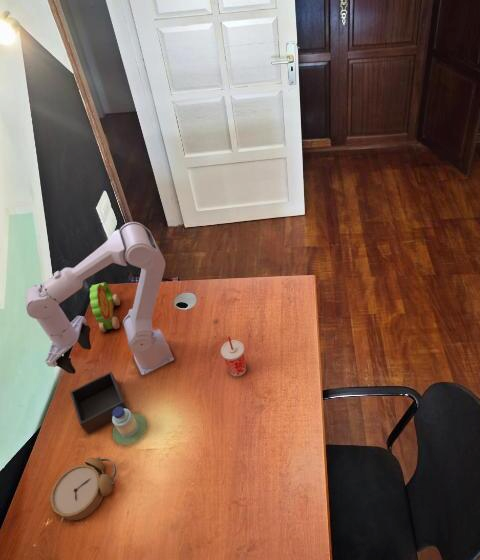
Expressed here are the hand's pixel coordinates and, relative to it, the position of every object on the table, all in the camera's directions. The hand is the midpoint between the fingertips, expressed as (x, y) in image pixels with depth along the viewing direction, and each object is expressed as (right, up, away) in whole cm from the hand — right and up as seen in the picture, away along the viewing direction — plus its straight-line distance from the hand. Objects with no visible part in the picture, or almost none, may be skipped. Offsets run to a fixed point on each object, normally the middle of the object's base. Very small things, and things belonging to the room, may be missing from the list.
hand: (79, 360), depth 125 cm
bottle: (+14, -17, -4) cm, 22 cm away
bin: (+6, -13, +1) cm, 14 cm away
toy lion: (0, +9, +24) cm, 25 cm away
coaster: (+14, -17, -4) cm, 23 cm away
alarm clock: (+8, -28, -14) cm, 32 cm away
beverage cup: (+41, -4, +6) cm, 41 cm away
